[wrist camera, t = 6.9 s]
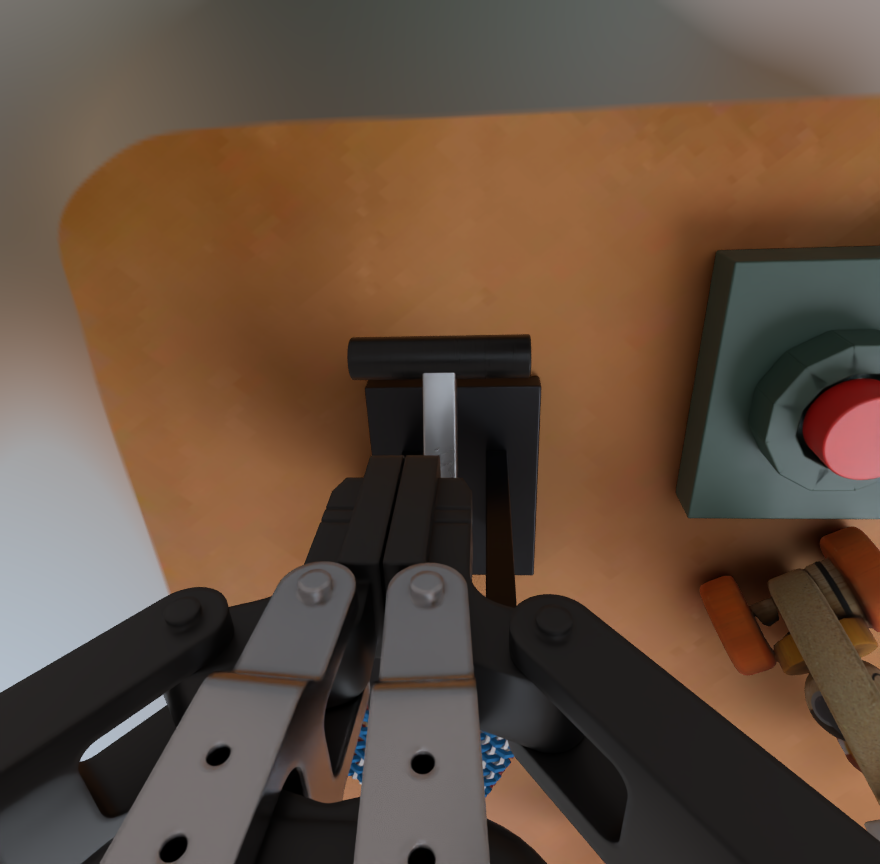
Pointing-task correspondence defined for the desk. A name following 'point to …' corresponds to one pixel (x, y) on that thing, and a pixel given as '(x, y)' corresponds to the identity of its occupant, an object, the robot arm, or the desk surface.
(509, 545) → the bracket
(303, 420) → the desk surface
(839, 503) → the button block
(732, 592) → the toy helicopter
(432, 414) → the lever
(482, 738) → the woven mat
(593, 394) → the desk surface
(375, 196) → the desk surface
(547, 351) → the desk surface
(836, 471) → the button
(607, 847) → the robot arm
